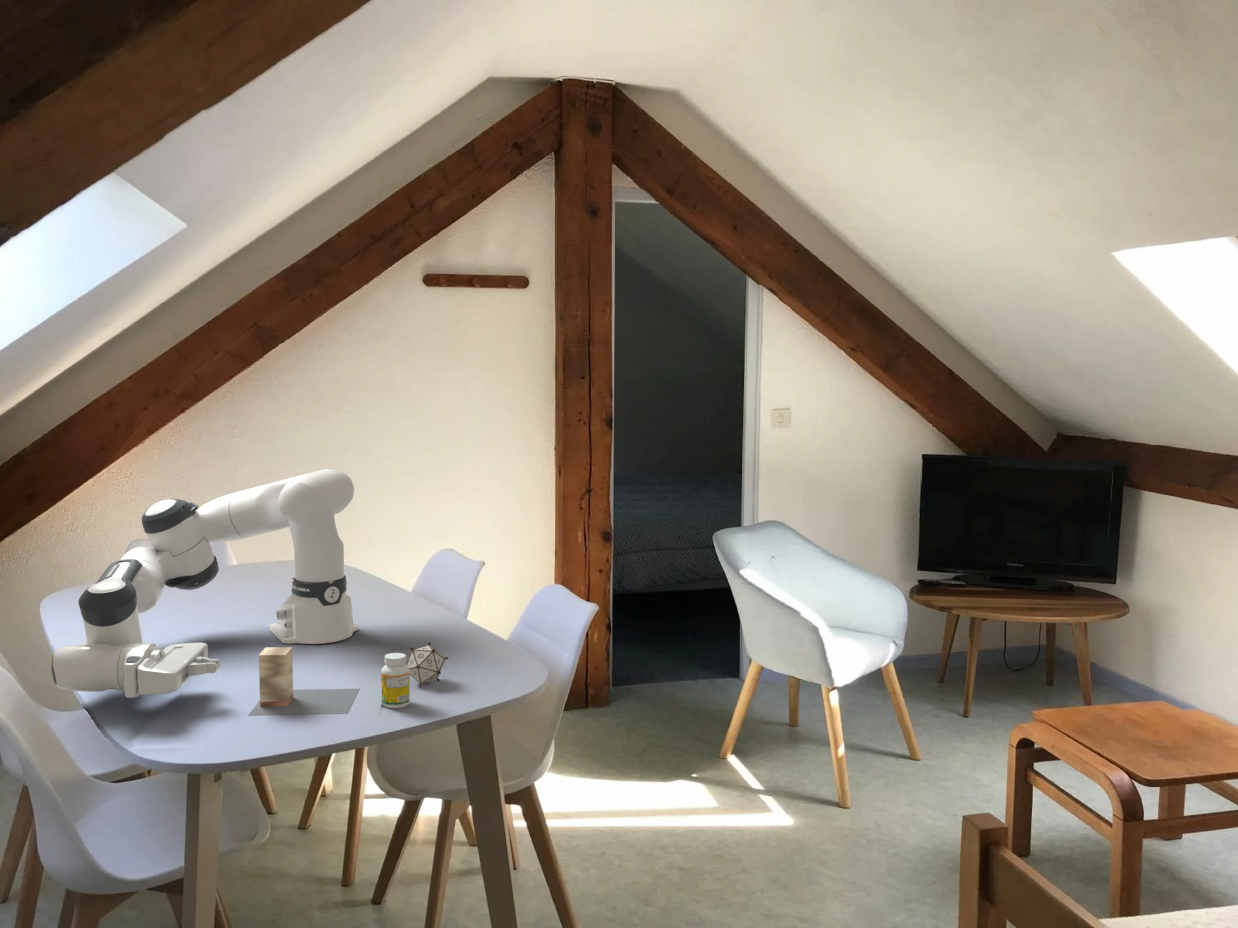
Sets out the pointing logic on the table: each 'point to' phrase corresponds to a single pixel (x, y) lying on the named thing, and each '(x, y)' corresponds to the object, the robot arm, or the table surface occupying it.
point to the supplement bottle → (395, 681)
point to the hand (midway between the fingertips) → (218, 665)
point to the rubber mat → (312, 703)
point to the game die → (425, 664)
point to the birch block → (276, 676)
